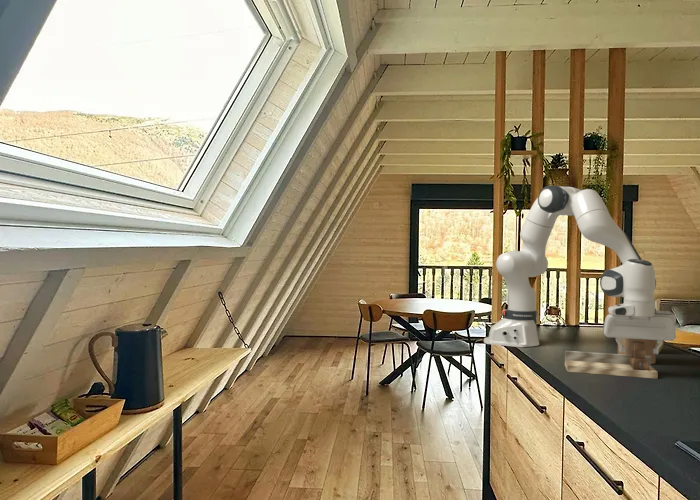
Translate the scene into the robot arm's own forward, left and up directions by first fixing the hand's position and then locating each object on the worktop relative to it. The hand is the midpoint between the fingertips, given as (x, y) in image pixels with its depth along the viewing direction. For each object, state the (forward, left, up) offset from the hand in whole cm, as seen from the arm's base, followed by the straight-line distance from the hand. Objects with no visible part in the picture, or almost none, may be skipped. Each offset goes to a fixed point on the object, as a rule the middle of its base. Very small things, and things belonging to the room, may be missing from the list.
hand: (638, 352), depth 167 cm
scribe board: (-8, 0, -7) cm, 11 cm away
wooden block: (+4, +21, -7) cm, 23 cm away
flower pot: (+12, +42, -7) cm, 45 cm away
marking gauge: (0, 0, -5) cm, 5 cm away
